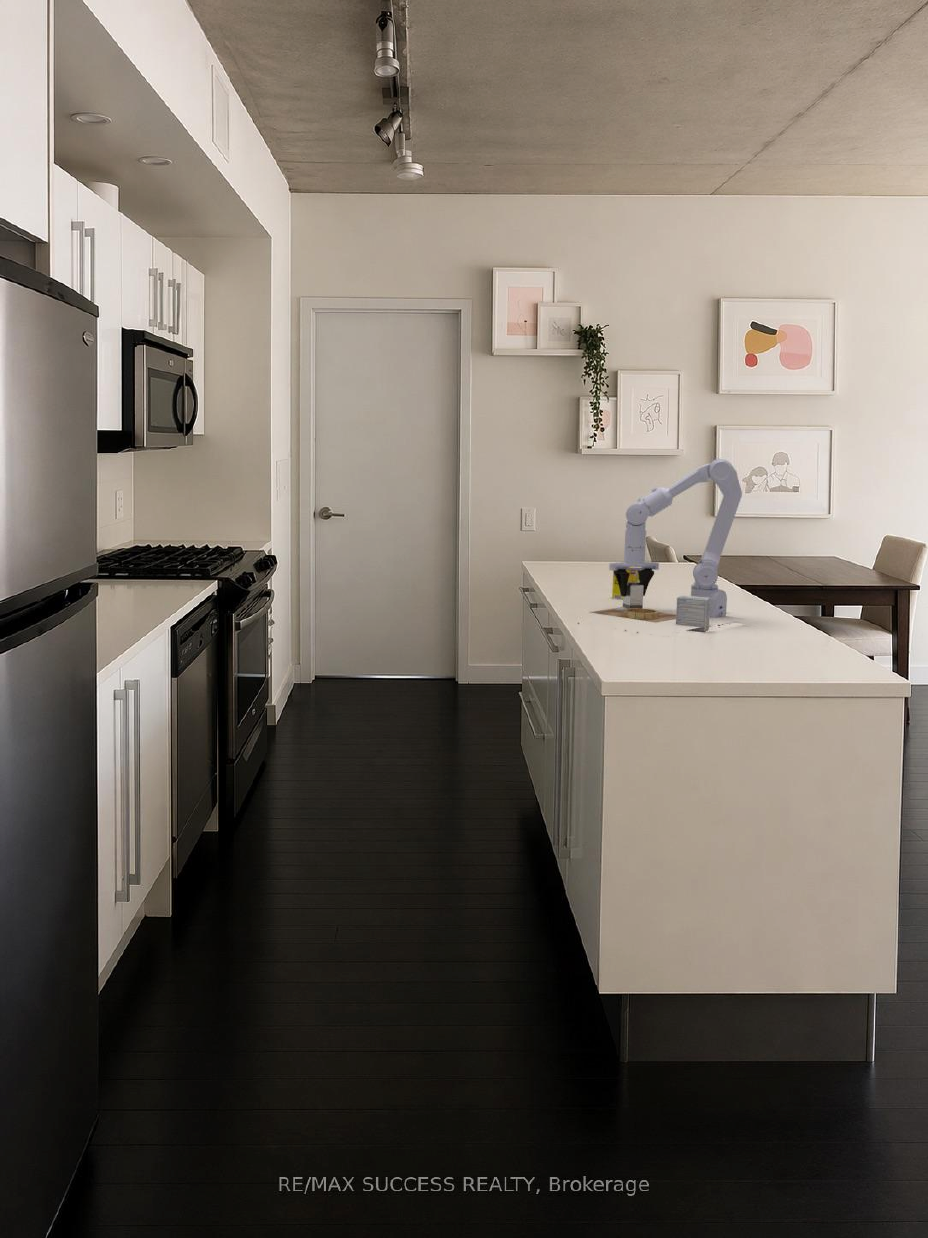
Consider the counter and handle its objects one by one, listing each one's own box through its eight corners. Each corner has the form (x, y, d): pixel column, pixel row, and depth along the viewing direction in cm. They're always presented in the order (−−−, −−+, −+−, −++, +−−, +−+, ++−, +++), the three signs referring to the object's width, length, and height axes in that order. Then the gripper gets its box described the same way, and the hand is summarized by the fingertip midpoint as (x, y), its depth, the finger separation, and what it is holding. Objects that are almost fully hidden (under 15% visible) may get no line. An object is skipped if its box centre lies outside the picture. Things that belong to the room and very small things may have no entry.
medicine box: (709, 630, 296) (711, 597, 295) (705, 632, 292) (707, 599, 291) (679, 627, 300) (681, 595, 298) (674, 630, 296) (676, 597, 294)
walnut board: (688, 621, 309) (689, 616, 309) (655, 627, 298) (655, 622, 298) (622, 612, 324) (622, 606, 324) (588, 617, 313) (588, 612, 312)
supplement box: (628, 605, 338) (630, 569, 336) (611, 603, 341) (612, 567, 340) (638, 603, 342) (640, 567, 341) (621, 601, 346) (622, 565, 344)
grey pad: (649, 611, 317) (649, 609, 317) (635, 613, 312) (635, 612, 312) (629, 608, 322) (629, 606, 322) (614, 610, 317) (614, 609, 317)
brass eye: (665, 617, 307) (665, 611, 307) (645, 620, 300) (646, 614, 300) (637, 613, 313) (637, 607, 313) (617, 616, 306) (617, 610, 306)
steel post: (635, 608, 319) (636, 581, 318) (642, 610, 316) (643, 583, 315) (622, 608, 318) (623, 582, 317) (629, 610, 314) (630, 583, 313)
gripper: (618, 548, 308) (616, 598, 310) (665, 548, 313) (662, 597, 315) (606, 546, 314) (604, 595, 317) (652, 545, 320) (650, 593, 322)
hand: (632, 595), depth 316 cm, fingers open, 5 cm apart
